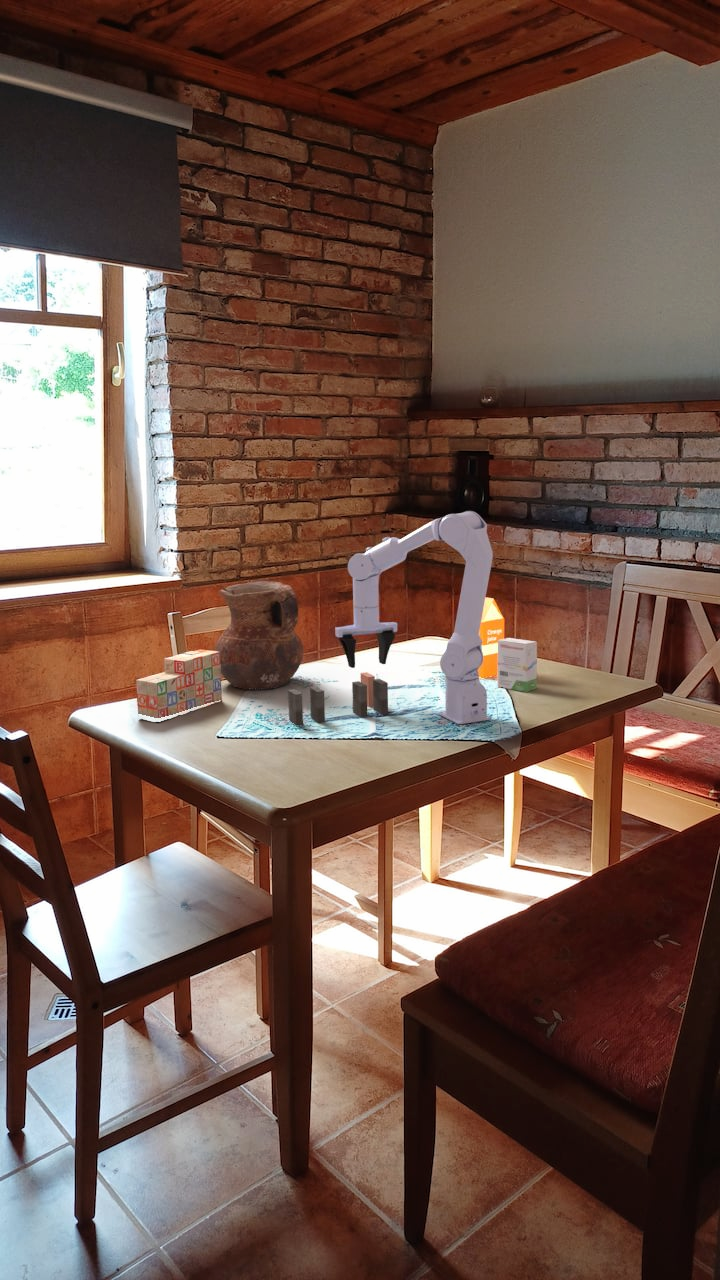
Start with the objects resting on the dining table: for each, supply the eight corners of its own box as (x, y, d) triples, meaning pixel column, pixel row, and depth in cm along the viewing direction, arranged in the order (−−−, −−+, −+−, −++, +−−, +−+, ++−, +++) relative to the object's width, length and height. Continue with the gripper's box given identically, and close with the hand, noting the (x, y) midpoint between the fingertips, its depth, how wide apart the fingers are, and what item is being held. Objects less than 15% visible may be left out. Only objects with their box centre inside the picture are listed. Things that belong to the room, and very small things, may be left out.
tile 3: (325, 722, 211) (324, 690, 209) (318, 723, 210) (317, 691, 209) (317, 717, 215) (316, 686, 213) (310, 718, 214) (309, 687, 213)
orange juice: (479, 668, 257) (479, 593, 253) (504, 674, 250) (505, 596, 247) (458, 673, 252) (458, 596, 249) (483, 679, 246) (483, 600, 242)
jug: (205, 693, 237) (200, 591, 233) (228, 673, 258) (224, 579, 253) (295, 694, 234) (291, 591, 229) (311, 674, 255) (308, 579, 250)
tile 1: (388, 713, 216) (387, 682, 215) (381, 714, 216) (381, 683, 214) (379, 708, 220) (379, 678, 219) (373, 709, 220) (372, 679, 218)
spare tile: (375, 706, 223) (374, 676, 221) (368, 707, 222) (368, 677, 221) (367, 701, 227) (366, 672, 225) (361, 702, 226) (360, 673, 225)
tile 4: (303, 725, 209) (302, 693, 207) (296, 726, 208) (295, 694, 207) (296, 720, 213) (295, 689, 211) (289, 721, 212) (288, 690, 211)
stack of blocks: (158, 724, 212) (155, 669, 210) (137, 720, 216) (134, 666, 213) (222, 701, 230) (220, 650, 227) (202, 698, 233) (199, 648, 231)
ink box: (537, 688, 235) (538, 640, 233) (526, 692, 232) (526, 644, 229) (508, 683, 241) (508, 636, 238) (496, 687, 237) (496, 639, 235)
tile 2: (367, 716, 214) (366, 685, 213) (360, 717, 214) (360, 686, 212) (359, 711, 218) (358, 681, 217) (353, 712, 218) (352, 682, 216)
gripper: (387, 601, 226) (388, 658, 229) (329, 606, 221) (331, 665, 223) (401, 605, 220) (401, 664, 223) (341, 610, 214) (342, 671, 217)
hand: (367, 665), depth 222 cm, fingers open, 7 cm apart
